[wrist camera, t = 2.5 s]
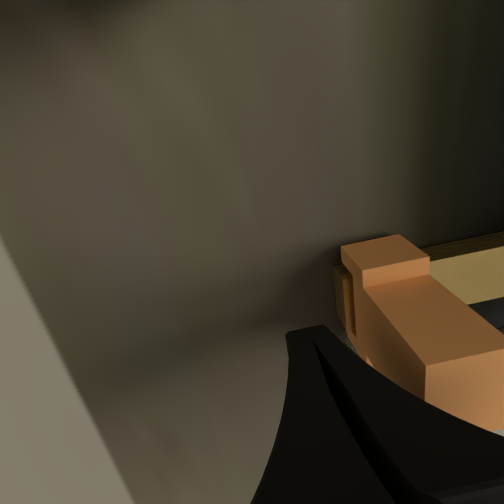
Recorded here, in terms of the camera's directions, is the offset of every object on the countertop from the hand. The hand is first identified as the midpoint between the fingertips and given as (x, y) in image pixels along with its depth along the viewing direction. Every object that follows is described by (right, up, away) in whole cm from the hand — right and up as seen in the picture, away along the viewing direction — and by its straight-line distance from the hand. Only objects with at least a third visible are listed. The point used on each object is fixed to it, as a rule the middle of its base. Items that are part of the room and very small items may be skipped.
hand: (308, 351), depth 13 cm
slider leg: (+4, -1, +4) cm, 6 cm away
